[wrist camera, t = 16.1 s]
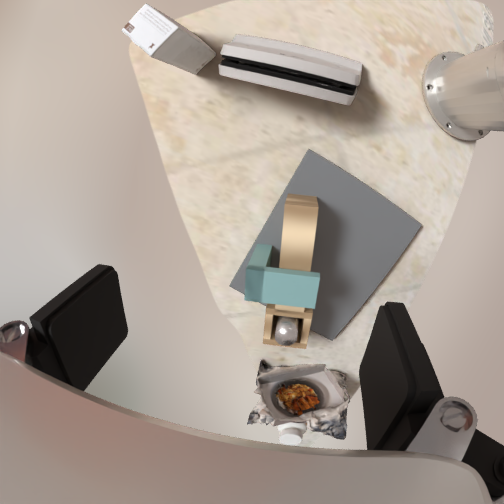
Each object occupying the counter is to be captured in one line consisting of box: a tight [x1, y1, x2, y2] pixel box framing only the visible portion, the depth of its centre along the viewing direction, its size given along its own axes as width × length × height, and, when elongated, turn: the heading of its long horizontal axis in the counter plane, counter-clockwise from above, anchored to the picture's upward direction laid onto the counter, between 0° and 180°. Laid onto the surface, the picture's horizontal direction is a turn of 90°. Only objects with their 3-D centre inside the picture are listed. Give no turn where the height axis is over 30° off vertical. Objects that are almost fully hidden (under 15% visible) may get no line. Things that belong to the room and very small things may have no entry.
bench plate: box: [230, 149, 421, 340], centre depth 40 cm, size 22×18×1 cm
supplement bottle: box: [277, 422, 307, 445], centre depth 48 cm, size 5×5×10 cm
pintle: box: [275, 316, 299, 346], centre depth 39 cm, size 3×3×8 cm
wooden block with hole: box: [263, 193, 319, 349], centre depth 38 cm, size 19×6×6 cm, turn 177°
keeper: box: [245, 244, 320, 309], centre depth 37 cm, size 4×8×8 cm, turn 87°
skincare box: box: [122, 3, 216, 74], centre depth 27 cm, size 6×4×12 cm
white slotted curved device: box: [218, 34, 362, 105], centre depth 28 cm, size 17×5×10 cm, turn 76°
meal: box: [247, 360, 350, 439], centre depth 43 cm, size 15×4×13 cm, turn 88°
